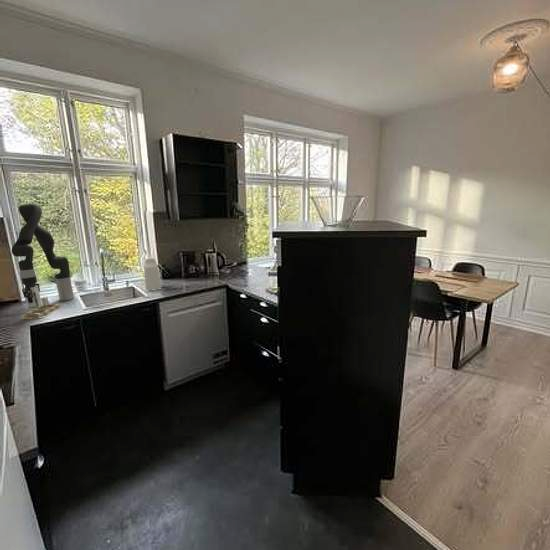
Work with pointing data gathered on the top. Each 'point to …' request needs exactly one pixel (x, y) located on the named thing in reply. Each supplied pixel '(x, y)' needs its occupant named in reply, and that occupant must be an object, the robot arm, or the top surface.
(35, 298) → the syrup box
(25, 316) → the hole bar
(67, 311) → the top surface
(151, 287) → the milk
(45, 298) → the steel pin
